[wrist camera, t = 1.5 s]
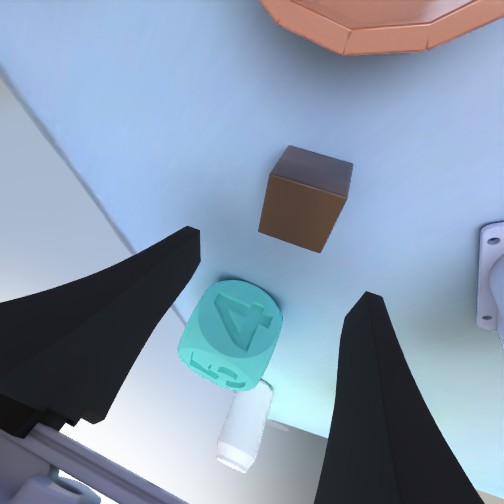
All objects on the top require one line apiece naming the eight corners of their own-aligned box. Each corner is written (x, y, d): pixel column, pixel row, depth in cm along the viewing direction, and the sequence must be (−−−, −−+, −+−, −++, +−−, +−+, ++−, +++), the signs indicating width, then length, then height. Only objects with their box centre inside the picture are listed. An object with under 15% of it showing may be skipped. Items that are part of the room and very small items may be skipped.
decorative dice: (219, 267, 26) (177, 334, 20) (290, 300, 25) (266, 378, 20) (210, 304, 32) (175, 364, 26) (267, 332, 31) (244, 399, 26)
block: (353, 163, 15) (347, 197, 12) (329, 216, 18) (320, 254, 15) (289, 144, 15) (269, 173, 13) (275, 199, 18) (257, 232, 15)
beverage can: (258, 391, 47) (233, 469, 39) (235, 374, 46) (204, 452, 38) (282, 392, 43) (259, 479, 35) (257, 373, 41) (228, 461, 33)
